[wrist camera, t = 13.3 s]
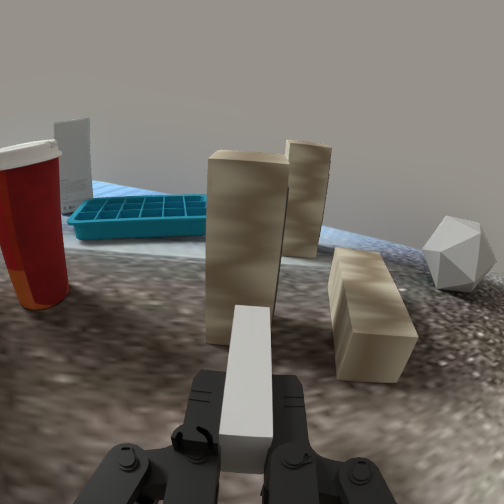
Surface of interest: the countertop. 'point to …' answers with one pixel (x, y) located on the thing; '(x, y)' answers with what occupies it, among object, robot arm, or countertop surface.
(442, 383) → the countertop surface
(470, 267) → the die
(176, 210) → the ice cube tray
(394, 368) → the post
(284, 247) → the post
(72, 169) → the skincare box
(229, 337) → the post
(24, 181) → the paper cup
